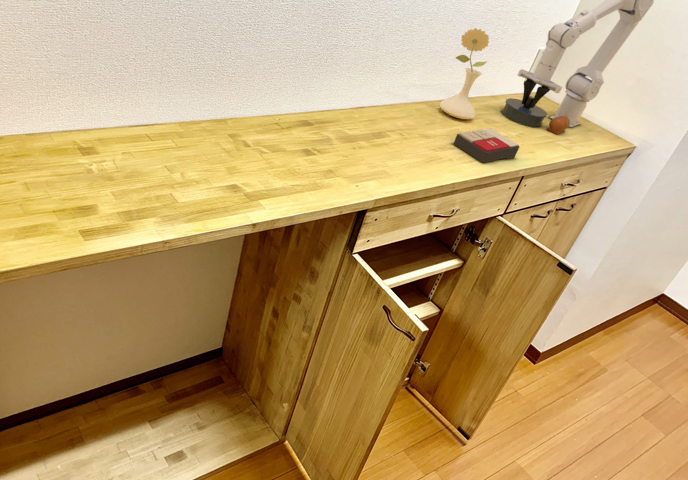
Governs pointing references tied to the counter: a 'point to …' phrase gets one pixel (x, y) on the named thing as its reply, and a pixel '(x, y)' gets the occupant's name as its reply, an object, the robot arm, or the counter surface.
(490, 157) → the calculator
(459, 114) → the flower in vase
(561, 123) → the orange capsule
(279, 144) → the counter surface
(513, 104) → the pot lid
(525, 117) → the pot
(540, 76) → the robot arm
